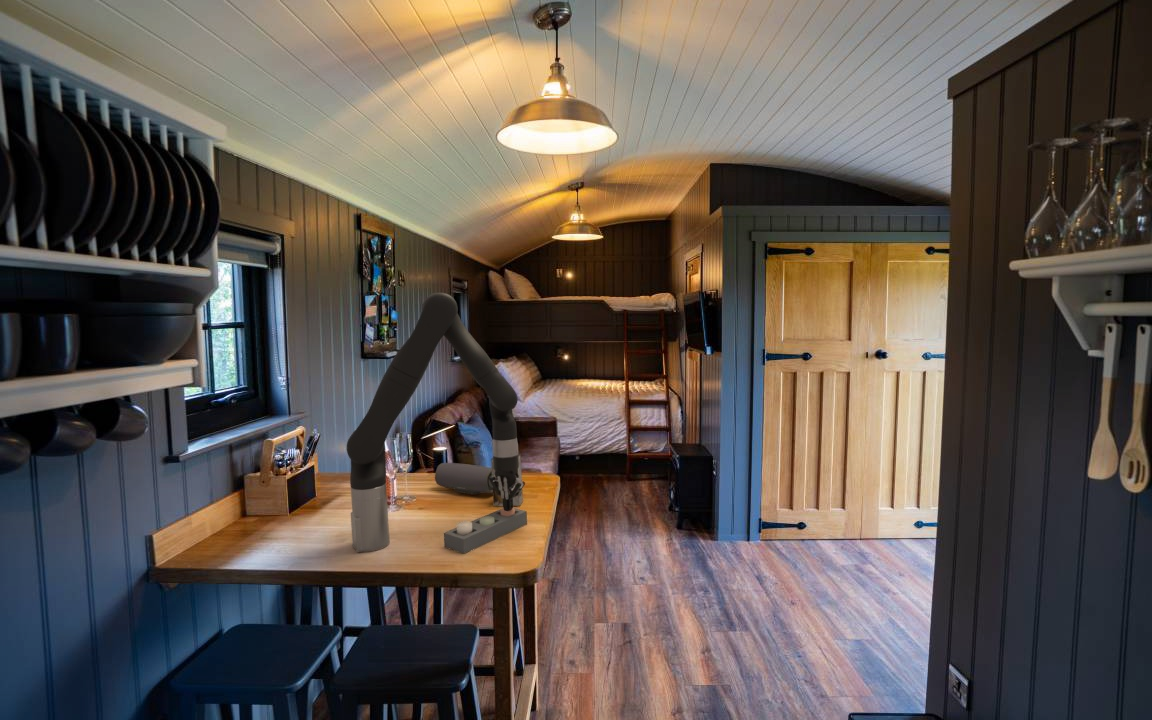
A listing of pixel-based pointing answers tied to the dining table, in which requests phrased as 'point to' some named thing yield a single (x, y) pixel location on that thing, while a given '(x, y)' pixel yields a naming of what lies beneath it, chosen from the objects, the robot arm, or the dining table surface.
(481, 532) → the button panel
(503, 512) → the terracotta button
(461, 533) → the cream button
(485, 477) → the bluetooth speaker
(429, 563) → the dining table surface
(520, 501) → the coffee box
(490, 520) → the sage button
